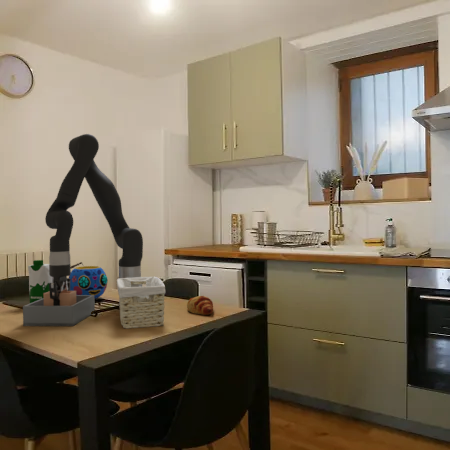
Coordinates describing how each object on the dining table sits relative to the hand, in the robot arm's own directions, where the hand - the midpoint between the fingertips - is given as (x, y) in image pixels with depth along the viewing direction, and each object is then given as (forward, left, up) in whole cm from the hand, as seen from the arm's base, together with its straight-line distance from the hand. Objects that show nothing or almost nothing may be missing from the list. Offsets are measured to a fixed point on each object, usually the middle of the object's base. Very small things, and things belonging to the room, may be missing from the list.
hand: (60, 307), depth 170 cm
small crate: (0, 0, -1) cm, 1 cm away
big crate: (0, 0, -4) cm, 4 cm away
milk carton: (+19, -24, -4) cm, 31 cm away
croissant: (-52, -14, -5) cm, 54 cm away
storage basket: (-31, +3, -5) cm, 32 cm away
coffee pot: (+25, -59, -4) cm, 64 cm away
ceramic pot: (+4, -39, -4) cm, 39 cm away
